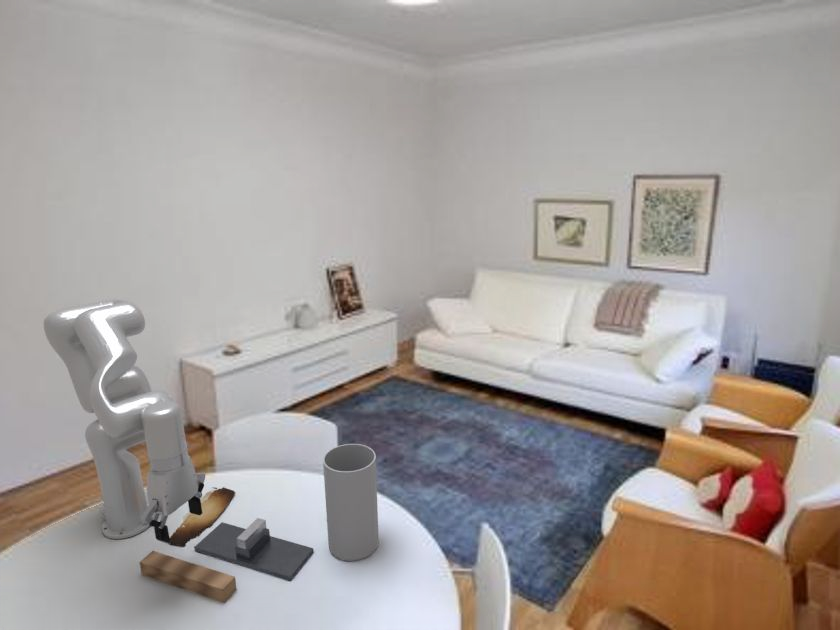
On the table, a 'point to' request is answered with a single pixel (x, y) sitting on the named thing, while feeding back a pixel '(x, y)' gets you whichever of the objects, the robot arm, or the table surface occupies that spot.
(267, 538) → the stand
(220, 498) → the parchment
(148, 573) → the walnut bar
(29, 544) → the table surface
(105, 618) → the table surface
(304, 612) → the table surface
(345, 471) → the cylinder vase
